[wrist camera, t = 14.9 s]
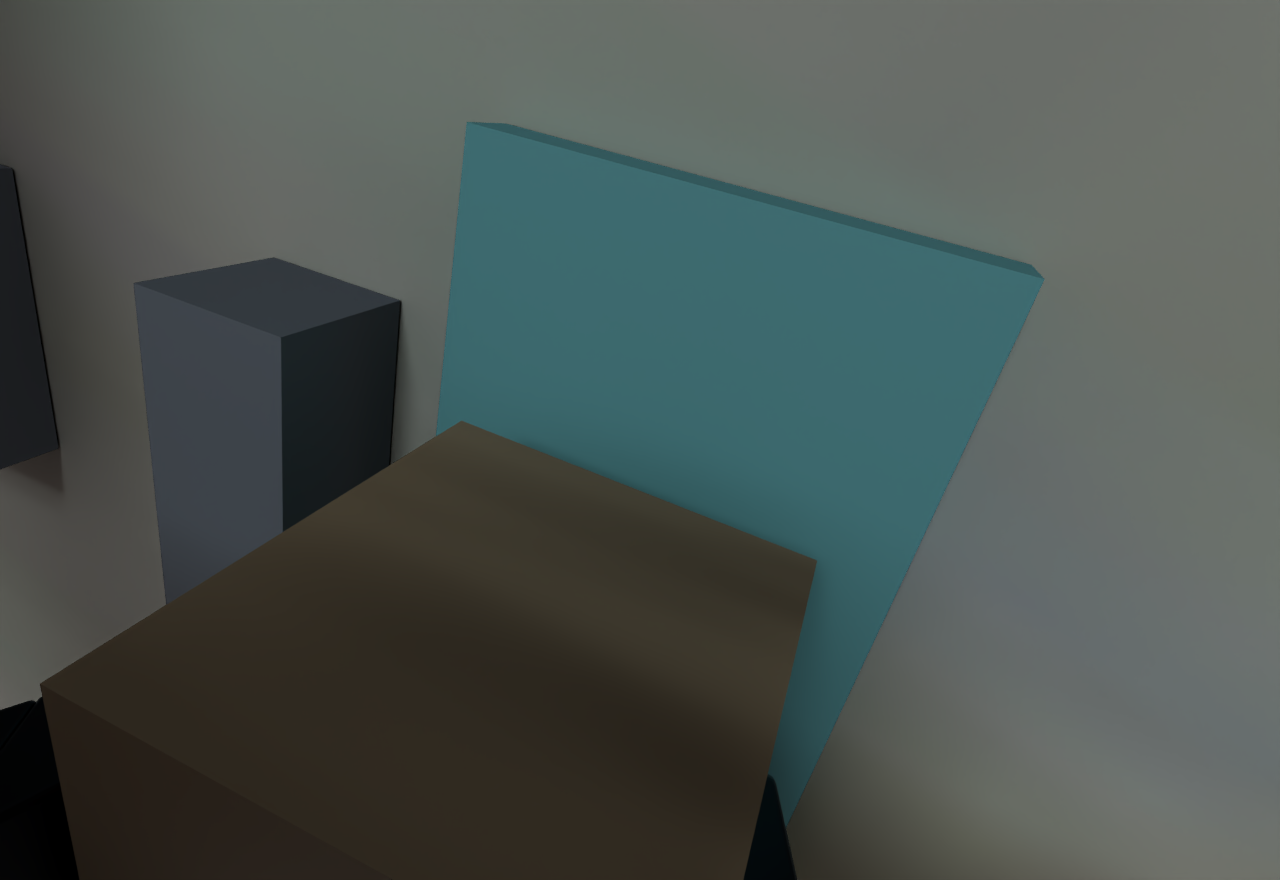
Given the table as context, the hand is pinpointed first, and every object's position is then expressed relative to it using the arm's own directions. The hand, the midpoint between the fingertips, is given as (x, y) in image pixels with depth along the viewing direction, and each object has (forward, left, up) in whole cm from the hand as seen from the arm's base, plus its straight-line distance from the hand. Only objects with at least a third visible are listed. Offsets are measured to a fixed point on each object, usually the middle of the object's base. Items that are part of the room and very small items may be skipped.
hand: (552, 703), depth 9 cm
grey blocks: (0, -10, -4) cm, 11 cm away
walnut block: (+1, 0, -1) cm, 2 cm away
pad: (0, 0, -4) cm, 4 cm away
